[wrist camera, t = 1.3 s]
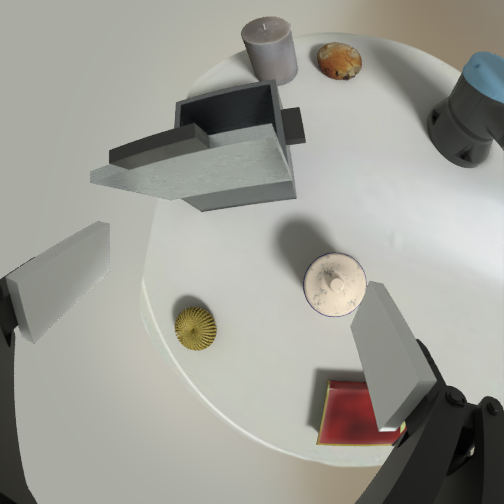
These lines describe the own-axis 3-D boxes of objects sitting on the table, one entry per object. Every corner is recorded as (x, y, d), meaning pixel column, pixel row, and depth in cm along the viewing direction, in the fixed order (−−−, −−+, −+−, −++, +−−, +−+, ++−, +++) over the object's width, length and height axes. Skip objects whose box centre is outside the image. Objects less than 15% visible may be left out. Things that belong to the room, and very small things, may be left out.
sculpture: (173, 303, 49) (215, 312, 47) (183, 302, 53) (222, 311, 51) (168, 345, 48) (208, 357, 46) (178, 342, 52) (216, 352, 50)
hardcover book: (327, 378, 46) (327, 386, 42) (433, 379, 41) (441, 385, 37) (317, 434, 44) (316, 445, 40) (419, 433, 39) (425, 443, 35)
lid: (265, 107, 18) (267, 122, 18) (290, 172, 38) (291, 180, 38) (70, 166, 22) (69, 178, 22) (170, 192, 42) (170, 200, 42)
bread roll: (358, 68, 54) (358, 40, 48) (364, 84, 49) (365, 52, 42) (318, 66, 57) (316, 37, 50) (318, 82, 51) (316, 49, 45)
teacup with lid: (301, 307, 48) (296, 313, 37) (310, 254, 49) (307, 245, 37) (369, 317, 45) (384, 326, 34) (377, 264, 46) (395, 258, 34)
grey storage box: (299, 114, 52) (292, 76, 40) (313, 196, 50) (310, 170, 38) (188, 135, 57) (161, 106, 46) (187, 214, 55) (156, 196, 43)
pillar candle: (250, 65, 56) (233, 21, 42) (289, 53, 55) (279, 7, 40) (263, 92, 55) (246, 46, 40) (305, 79, 53) (298, 30, 38)
